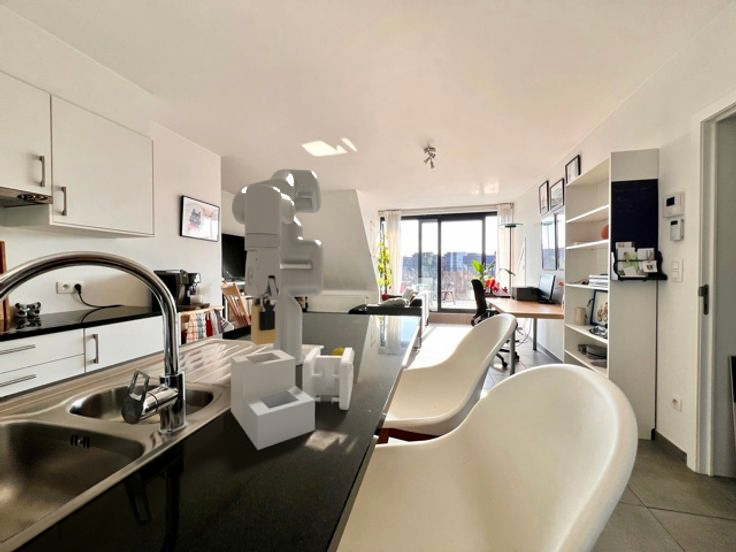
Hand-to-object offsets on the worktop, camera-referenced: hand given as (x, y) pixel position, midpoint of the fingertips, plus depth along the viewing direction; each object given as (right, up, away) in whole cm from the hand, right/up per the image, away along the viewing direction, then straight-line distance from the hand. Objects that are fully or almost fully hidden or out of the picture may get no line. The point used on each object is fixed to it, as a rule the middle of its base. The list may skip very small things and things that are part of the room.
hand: (263, 327), depth 67 cm
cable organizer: (+14, -19, +7) cm, 24 cm away
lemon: (+14, -18, +26) cm, 35 cm away
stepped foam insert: (+3, -19, -3) cm, 19 cm away
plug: (0, -3, 0) cm, 3 cm away
